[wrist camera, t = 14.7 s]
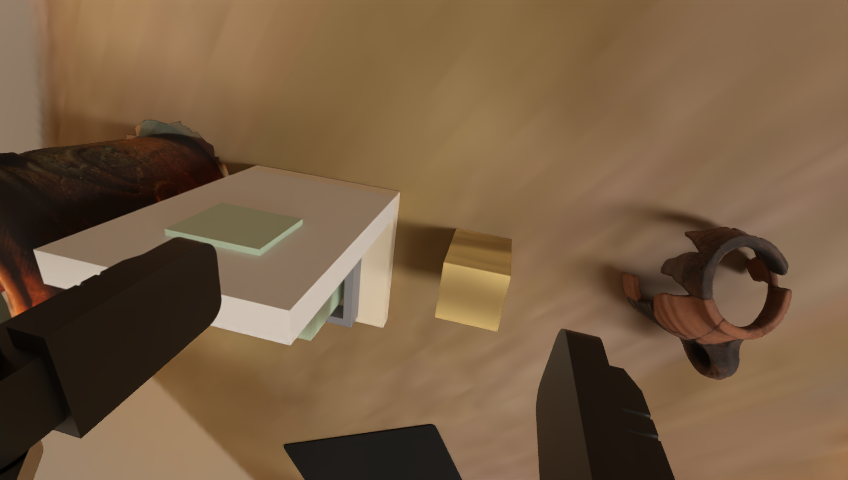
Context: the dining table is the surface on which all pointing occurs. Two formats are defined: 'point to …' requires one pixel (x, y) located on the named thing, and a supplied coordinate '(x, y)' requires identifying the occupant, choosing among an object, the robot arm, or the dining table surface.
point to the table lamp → (376, 456)
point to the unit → (260, 247)
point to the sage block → (322, 314)
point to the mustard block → (475, 279)
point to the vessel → (88, 195)
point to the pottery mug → (697, 313)
